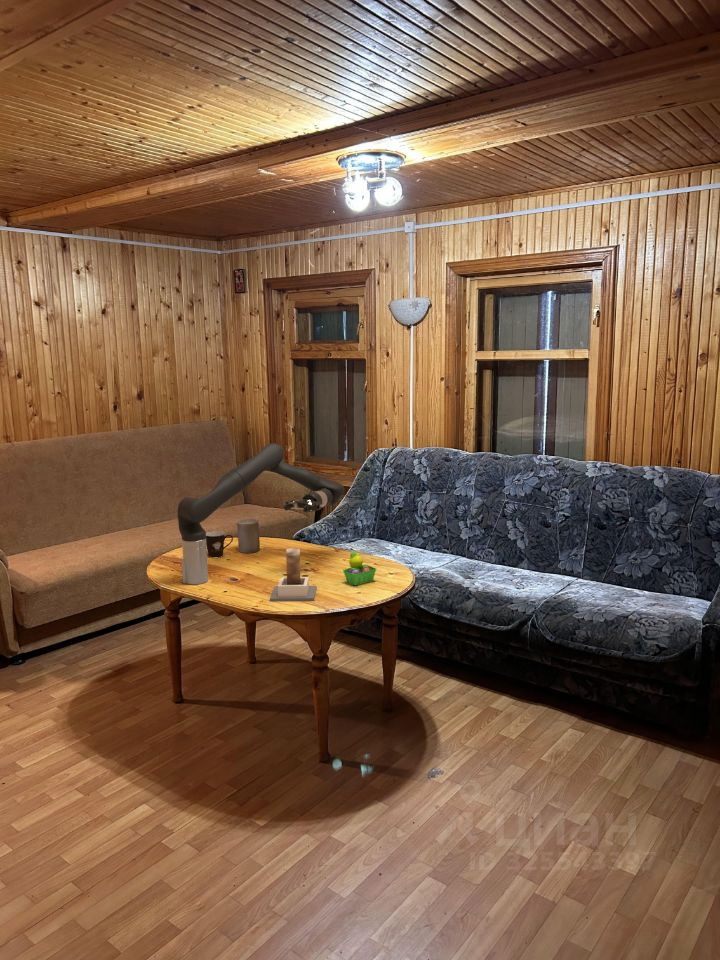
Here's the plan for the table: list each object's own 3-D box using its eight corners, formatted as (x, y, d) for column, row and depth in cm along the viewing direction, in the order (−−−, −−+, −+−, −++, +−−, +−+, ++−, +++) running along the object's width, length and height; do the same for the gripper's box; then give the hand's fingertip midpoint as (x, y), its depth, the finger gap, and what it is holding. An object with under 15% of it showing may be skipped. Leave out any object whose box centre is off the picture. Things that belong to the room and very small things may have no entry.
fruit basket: (353, 587, 278) (353, 558, 276) (340, 581, 285) (340, 553, 283) (377, 581, 284) (377, 553, 282) (364, 576, 292) (363, 548, 290)
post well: (269, 601, 263) (269, 587, 262) (274, 588, 277) (274, 576, 276) (314, 600, 263) (313, 587, 262) (316, 588, 277) (316, 575, 276)
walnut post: (286, 594, 268) (285, 551, 265) (287, 589, 272) (286, 548, 270) (300, 594, 268) (299, 551, 265) (301, 589, 272) (300, 548, 270)
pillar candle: (262, 547, 335) (260, 515, 332) (257, 553, 325) (255, 520, 322) (241, 547, 336) (239, 515, 333) (235, 553, 326) (234, 520, 323)
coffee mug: (203, 558, 318) (202, 536, 317) (208, 553, 327) (207, 531, 325) (230, 558, 318) (229, 536, 316) (234, 552, 327) (233, 531, 325)
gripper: (299, 490, 302) (278, 498, 287) (330, 493, 296) (310, 500, 281) (299, 508, 303) (279, 516, 289) (330, 511, 297) (310, 519, 283)
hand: (294, 508), depth 285 cm, fingers open, 8 cm apart
